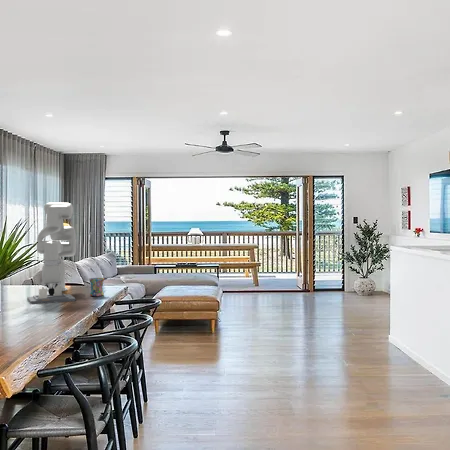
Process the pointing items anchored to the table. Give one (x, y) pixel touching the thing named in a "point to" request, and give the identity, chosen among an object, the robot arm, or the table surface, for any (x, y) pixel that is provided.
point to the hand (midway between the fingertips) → (51, 295)
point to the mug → (96, 286)
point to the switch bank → (50, 299)
